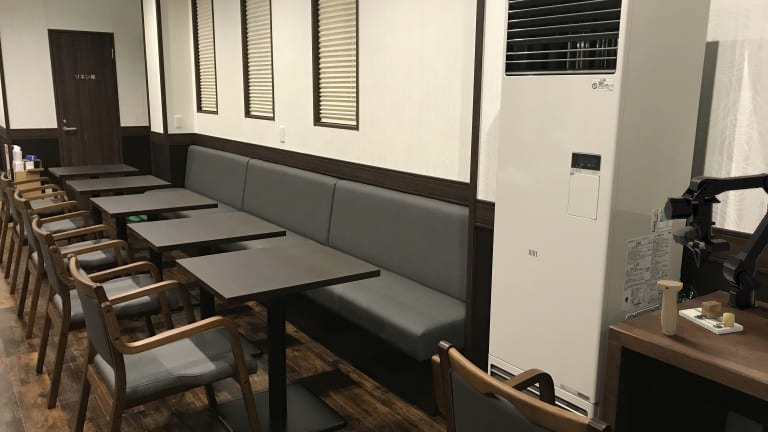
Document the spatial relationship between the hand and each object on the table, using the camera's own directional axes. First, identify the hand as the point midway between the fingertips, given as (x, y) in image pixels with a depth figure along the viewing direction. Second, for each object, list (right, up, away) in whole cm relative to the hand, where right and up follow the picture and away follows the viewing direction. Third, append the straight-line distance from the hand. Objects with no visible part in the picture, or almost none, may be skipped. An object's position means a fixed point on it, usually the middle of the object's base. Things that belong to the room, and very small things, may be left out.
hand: (699, 267), depth 187 cm
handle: (-17, -18, -15) cm, 29 cm away
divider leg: (-2, -14, -9) cm, 16 cm away
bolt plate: (-2, -15, -9) cm, 18 cm away
